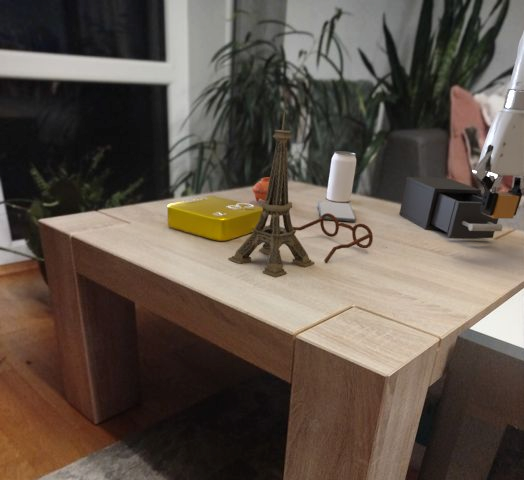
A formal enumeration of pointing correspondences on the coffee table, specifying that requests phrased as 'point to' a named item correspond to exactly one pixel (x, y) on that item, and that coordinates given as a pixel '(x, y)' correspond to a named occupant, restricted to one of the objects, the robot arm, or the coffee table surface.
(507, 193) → the block
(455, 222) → the drawer
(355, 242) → the glasses
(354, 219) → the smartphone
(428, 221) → the cabinet
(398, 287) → the coffee table surface
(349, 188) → the can
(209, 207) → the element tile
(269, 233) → the eiffel tower
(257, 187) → the orange cupcake
